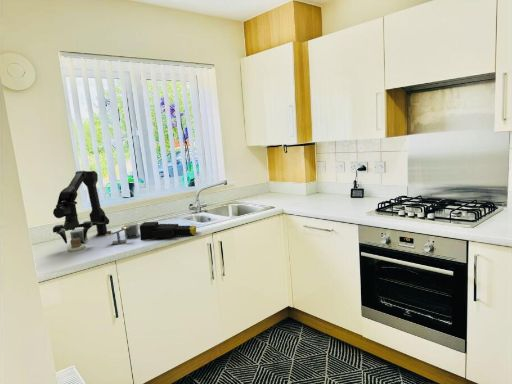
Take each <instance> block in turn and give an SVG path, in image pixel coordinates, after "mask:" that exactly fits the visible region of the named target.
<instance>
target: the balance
mask: <svg viewBox="0 0 512 384" xmlns="http://www.w3.org/2000/svg"><path fill="white" fill-rule="evenodd" d="M128 228H130V227H129V226H126V227H124V226H122V227H121V228H120V229H119V230H117V231H115V232H112V230H107V234H105V235H104V236H113V235H115V234H116V240H114V241H112V243H111V246H115V245H123V244H124V245H125V244H126V242H127V239H121V236H120V232H122V231H124V230H125V229H128Z"/></svg>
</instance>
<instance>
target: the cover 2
mask: <svg viewBox="0 0 512 384" xmlns="http://www.w3.org/2000/svg"><path fill="white" fill-rule="evenodd" d="M126 226H129V227H130V228H128V229H125V230H123V231H124V239H125V240H127V239H128V237H131V236H136V238H138V237H139V235H140V231H139V227H138V226H139V225H138V222H130V223H125V224H124V225H123V227H126Z"/></svg>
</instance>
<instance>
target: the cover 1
mask: <svg viewBox="0 0 512 384" xmlns="http://www.w3.org/2000/svg"><path fill="white" fill-rule="evenodd" d="M83 229H84V228H83V227H82V228H75V229H74V230H70V233H69V234H70V241H71V240H72V239H76V238H80V240H81V242H83V244H86V243H87V242H88V241H89V240H88V234H87V235H86V240H85V241H84V234H83ZM87 240H88V241H87Z"/></svg>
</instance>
